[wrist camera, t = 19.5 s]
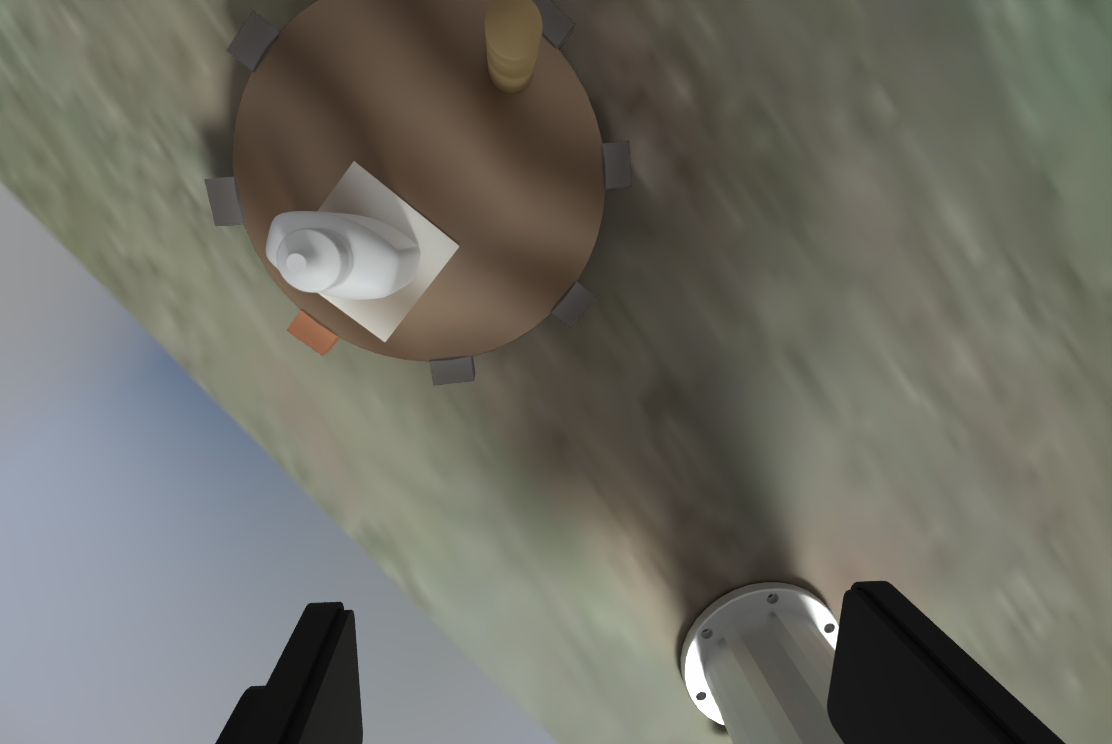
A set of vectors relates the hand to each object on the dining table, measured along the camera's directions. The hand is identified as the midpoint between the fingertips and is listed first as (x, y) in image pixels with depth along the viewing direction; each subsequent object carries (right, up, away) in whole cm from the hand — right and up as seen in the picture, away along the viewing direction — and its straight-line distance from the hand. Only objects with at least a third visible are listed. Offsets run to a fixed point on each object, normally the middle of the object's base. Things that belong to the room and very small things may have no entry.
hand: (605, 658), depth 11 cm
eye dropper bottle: (-11, +12, +22) cm, 27 cm away
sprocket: (-8, +16, +23) cm, 29 cm away
